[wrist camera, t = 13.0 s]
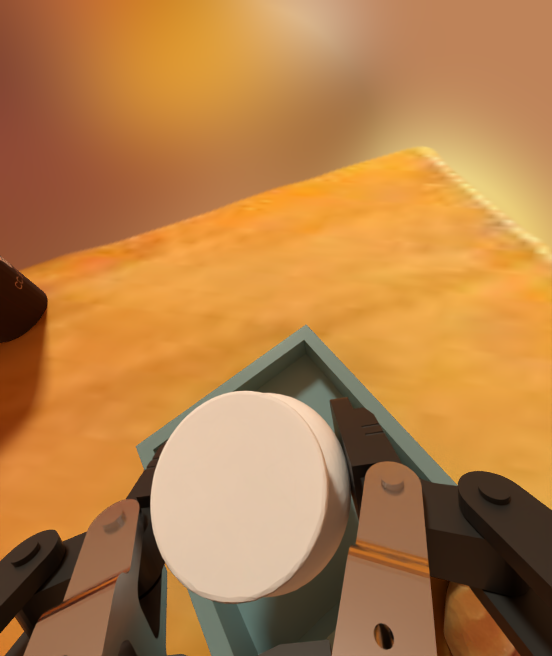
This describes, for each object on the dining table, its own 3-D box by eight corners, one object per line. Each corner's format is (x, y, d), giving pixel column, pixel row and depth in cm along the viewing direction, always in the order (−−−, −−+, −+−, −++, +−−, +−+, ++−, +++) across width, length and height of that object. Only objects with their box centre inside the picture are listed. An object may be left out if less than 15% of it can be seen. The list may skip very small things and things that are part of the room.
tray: (264, 697, 12) (248, 756, 10) (162, 450, 18) (135, 446, 16) (456, 508, 14) (485, 515, 12) (308, 343, 20) (306, 324, 18)
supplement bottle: (362, 476, 14) (421, 471, 5) (293, 574, 12) (225, 781, 4) (284, 406, 16) (241, 326, 8) (218, 482, 15) (77, 485, 6)
